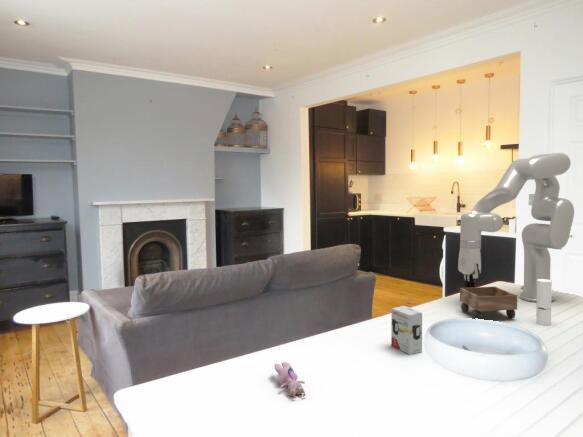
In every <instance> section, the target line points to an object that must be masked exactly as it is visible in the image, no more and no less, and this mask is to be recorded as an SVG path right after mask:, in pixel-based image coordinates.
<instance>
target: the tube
mask: <svg viewBox="0 0 583 437" xmlns="http://www.w3.org/2000/svg"><path fill="white" fill-rule="evenodd" d="M552 285H553V284H552V280H551V279H550V280H547V279H537V302H536V314H535V315H536V318H535V320H536V322H535V323H536V324H538V325H541V326H551V324H552V302H551V296H552Z"/></svg>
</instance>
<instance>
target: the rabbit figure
mask: <svg viewBox="0 0 583 437" xmlns="http://www.w3.org/2000/svg"><path fill="white" fill-rule="evenodd" d="M274 369H275V371H276V373H277V374H278V376H277V381H278V383H280V384H281V385H280V389H282V388H283V387H285V386H287V391H288V395H289V396H290V395H291V396H290V397H292V396H293V397H292V400H295V399H297V398H296V395H298V394H302V393H303V394H302V397H303V398H305V397H304V396H306V391H305V390H304V387H303V385H304V384H305V383H306V382H305V381H304V380H298V374H297V373H296V372H295V371H294V369H293V367H292V365H291V364H290V363H289V362H285V361H283V362H281V364H280V363H275V364H274ZM302 384H303V385H302ZM294 398H295V399H294Z"/></svg>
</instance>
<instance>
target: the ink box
mask: <svg viewBox="0 0 583 437" xmlns="http://www.w3.org/2000/svg"><path fill="white" fill-rule="evenodd" d="M390 323H391V324H390V325H391V330H390V331H391V333H390V334H391V335H390V336H391V337H390V339H391V342H390V343H391V346H392V345H393V346H392V347H394V348H395V347H396V349H397V348H398V349H397V350H399V349H400V351H401V350H402V351H401V352H403V351H404V352H403V353H405V352H406V353H405V354H407V353H408V354H407V355H409V354H410V355H414V354H413V353H415V354H419V353H418V352H420V353H422V352H423V312H422V311H419V310H417V309H414V308H411V307H410V306H409V307H408V306H406V305H401V306H396V307H392V308H391V322H390Z"/></svg>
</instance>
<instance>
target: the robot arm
mask: <svg viewBox="0 0 583 437" xmlns="http://www.w3.org/2000/svg"><path fill="white" fill-rule="evenodd" d="M571 165H572V164H571V158H570V157H569V155H567V154H566V153H563V152H554V153H553V152H552V153H543V154H542V153H541V154H537V155H533V156H531V157H528V158H520V159H516V160H513V161H512V162H511V163H510V164H509V166H508V167H507V169H506V170H505V171H504V174H503V175H502V176H501V179H500V180H499V182H498V183H497V185H496V186H495V187H494V188H493V189H492V190H490V191H489V192H488V193H487V194H485V195H483V197H482V198H481V199H479V200H478V201H477V202H476V203H475V205H474V206H473V207H472V209H471V211H470V213H463V214H461V216H460V227H459V228H460V231H459V233H460V234H459V236H460V237H459V238H460V239H459V241H460V242H459V253H458V260H457V262H458V264H457V270H458V271H459V272H460V273H461V274H463V279H464V288H472V287H475V282H476V279H479V275H480V274H481V273H482V256H481V254H482V253H481V249H482V232H484V233H485V232H486V233H496V232H498V231H500V230H501V229H502V228H503V226H504V220H503V218H502V216H501V215H499V214H497V213H493V212H492V211H494V209H497V208H498V207H500V206H503V205H506V204H508V203H510V202H512V201H514V200H515V199H516V198H517V197H518V195H519V194H520V192H521V190H522V189H523V188H524V186H525V184H526V183H527V182H528V181H531V180H534V183H535V191H534V196H533V199H532V205H531V209H530V214H531V217H532V218H533V219H534V220H536V221H543V222H549V223H550V224H546V223H537V222H536V223H528V224H527V225H525V226H524V227H523V229H522V231H521V241H522V246H523V286H522V285H521V286H520V288H519V289H520V290H521V291H522V292H521V293H519V296H518V297H519V298H520V299H522V300H523V301H528V302H535V303H537V279H547V280H551V260H552V259H551V254H550V251H549V249H553V250H560V249H562V248H564V247H566V245H567V243H568V242H569V239H570V235H571V231H572V226H573V221H574V219H575V218H574V216H575V207H574V205H573V203H572V201H571V200H569V199H567V198H562V197H559V194H560V188H561V187H560V183H559V180H558V179H557V176H560V175H563V174H566V173H567V172H568V170H569V169H570V168H571ZM554 301H555V297H554V296H553V295H551V303H552V302H554Z"/></svg>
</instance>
